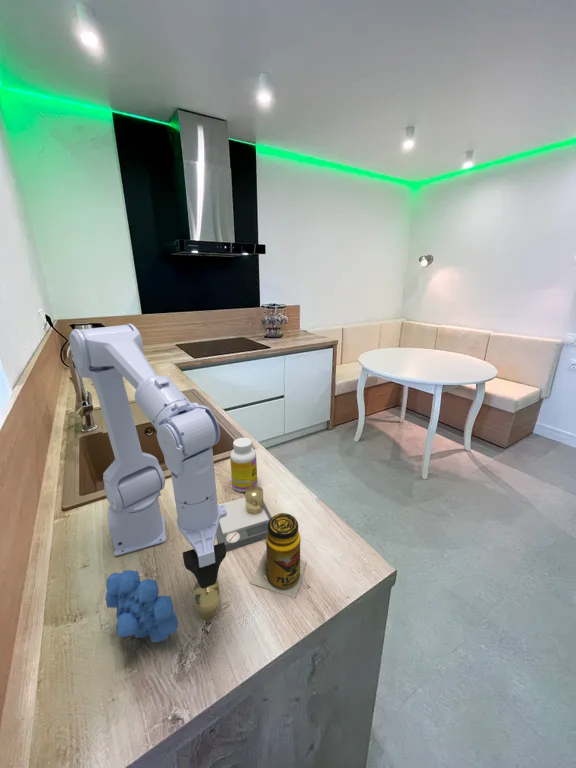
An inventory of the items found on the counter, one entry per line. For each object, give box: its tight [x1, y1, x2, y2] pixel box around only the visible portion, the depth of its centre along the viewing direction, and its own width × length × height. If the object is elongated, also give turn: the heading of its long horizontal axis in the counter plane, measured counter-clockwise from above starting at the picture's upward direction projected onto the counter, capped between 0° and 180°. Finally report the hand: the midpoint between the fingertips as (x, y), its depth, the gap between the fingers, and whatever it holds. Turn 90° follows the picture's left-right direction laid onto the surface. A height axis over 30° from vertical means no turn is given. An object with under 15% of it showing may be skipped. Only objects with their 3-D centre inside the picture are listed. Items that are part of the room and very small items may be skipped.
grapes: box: [105, 569, 179, 643], centre depth 45 cm, size 12×7×12 cm, turn 74°
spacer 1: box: [192, 579, 222, 621], centre depth 50 cm, size 4×4×5 cm
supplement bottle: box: [229, 437, 258, 493], centre depth 79 cm, size 7×7×13 cm
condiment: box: [250, 512, 307, 598], centre depth 55 cm, size 7×8×12 cm
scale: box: [216, 497, 273, 552], centre depth 68 cm, size 12×12×2 cm
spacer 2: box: [244, 485, 265, 515], centre depth 69 cm, size 4×4×5 cm
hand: (204, 563), depth 48 cm, fingers open, 7 cm apart
